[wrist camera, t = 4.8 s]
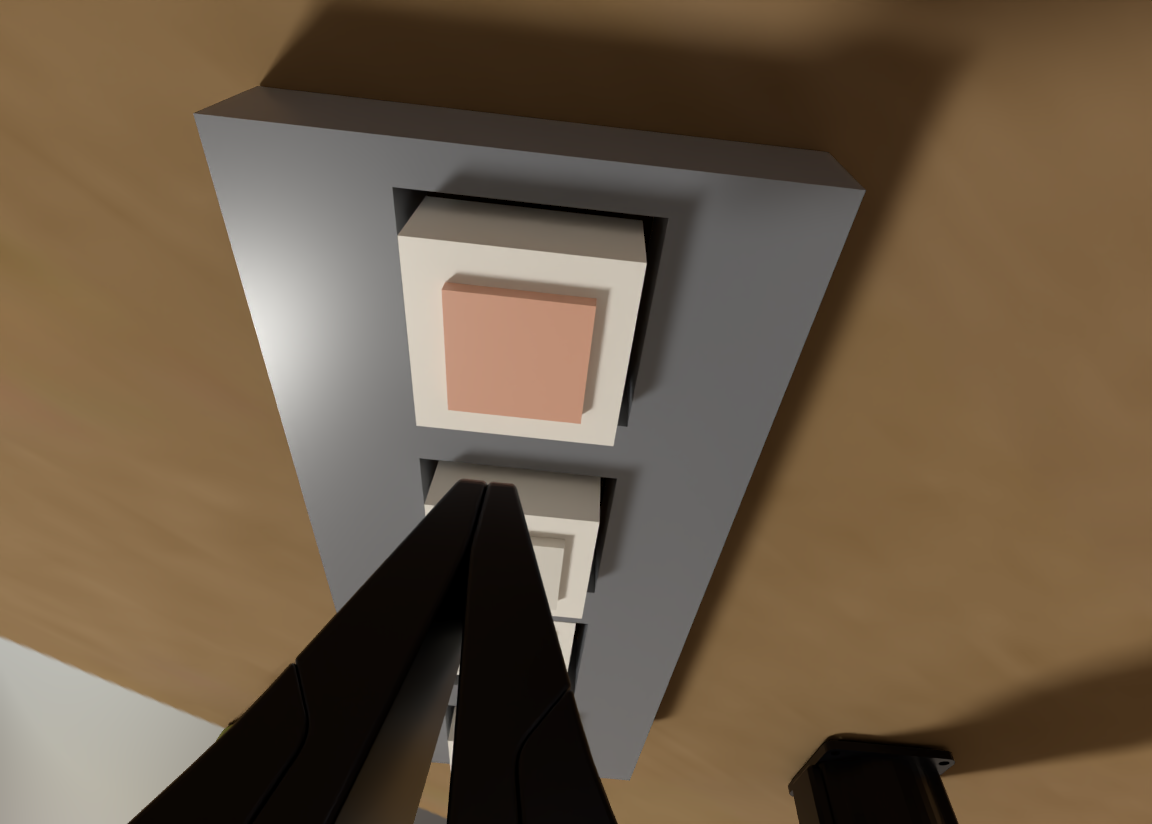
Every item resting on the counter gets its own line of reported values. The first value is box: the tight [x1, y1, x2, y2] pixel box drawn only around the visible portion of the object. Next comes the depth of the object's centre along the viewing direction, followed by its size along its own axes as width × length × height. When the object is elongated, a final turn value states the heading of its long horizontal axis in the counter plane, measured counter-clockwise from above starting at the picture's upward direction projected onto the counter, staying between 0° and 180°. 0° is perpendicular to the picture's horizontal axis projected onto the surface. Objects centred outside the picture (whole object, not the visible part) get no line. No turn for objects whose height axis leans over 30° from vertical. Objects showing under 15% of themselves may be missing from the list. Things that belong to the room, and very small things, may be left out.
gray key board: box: [193, 86, 866, 780], centre depth 20 cm, size 12×28×2 cm, turn 175°
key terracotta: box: [398, 196, 647, 446], centre depth 12 cm, size 4×4×2 cm
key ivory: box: [424, 460, 601, 619], centre depth 17 cm, size 4×4×2 cm
